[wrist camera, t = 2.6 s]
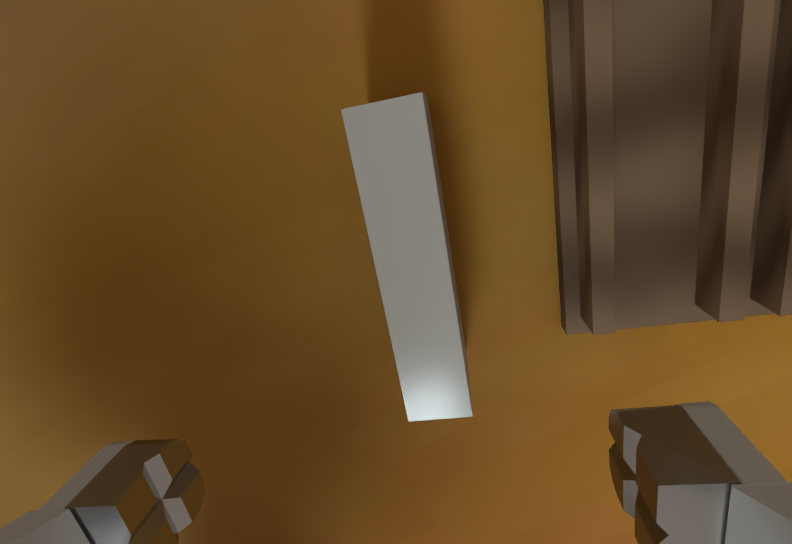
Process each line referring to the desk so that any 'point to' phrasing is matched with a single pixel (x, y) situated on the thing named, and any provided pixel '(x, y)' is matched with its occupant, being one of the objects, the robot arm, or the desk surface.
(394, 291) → the gray rectangular block
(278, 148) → the desk surface
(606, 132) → the rack
